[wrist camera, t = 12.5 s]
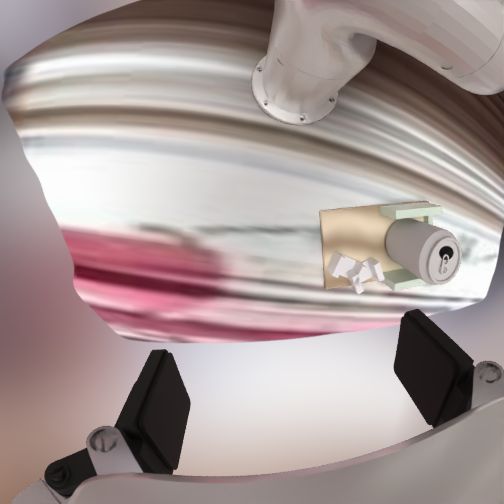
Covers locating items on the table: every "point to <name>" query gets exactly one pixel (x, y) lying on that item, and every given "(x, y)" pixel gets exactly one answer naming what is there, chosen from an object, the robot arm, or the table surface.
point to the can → (424, 250)
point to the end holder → (402, 276)
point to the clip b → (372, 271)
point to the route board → (356, 238)
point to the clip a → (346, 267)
